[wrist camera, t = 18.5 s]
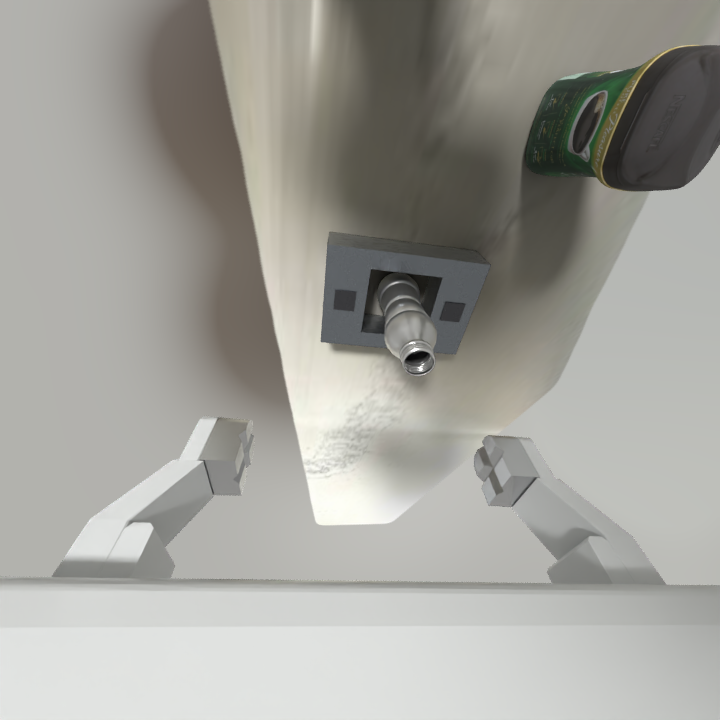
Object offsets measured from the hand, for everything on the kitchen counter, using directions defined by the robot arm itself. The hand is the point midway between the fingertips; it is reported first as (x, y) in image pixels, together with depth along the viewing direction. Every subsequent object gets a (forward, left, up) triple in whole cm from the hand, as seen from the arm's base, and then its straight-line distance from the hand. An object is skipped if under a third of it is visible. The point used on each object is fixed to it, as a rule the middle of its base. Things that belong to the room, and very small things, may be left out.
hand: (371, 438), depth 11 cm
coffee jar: (-12, +24, -39) cm, 48 cm away
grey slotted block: (+11, +8, -39) cm, 41 cm away
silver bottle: (+11, +8, -39) cm, 42 cm away
